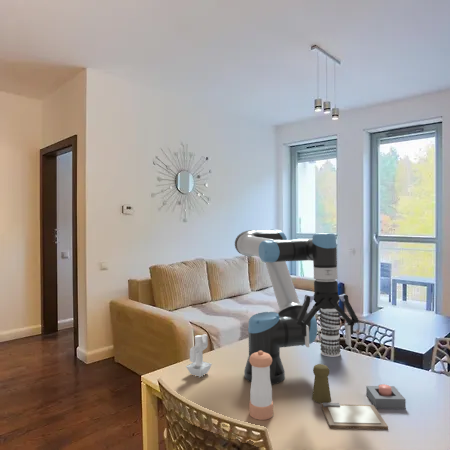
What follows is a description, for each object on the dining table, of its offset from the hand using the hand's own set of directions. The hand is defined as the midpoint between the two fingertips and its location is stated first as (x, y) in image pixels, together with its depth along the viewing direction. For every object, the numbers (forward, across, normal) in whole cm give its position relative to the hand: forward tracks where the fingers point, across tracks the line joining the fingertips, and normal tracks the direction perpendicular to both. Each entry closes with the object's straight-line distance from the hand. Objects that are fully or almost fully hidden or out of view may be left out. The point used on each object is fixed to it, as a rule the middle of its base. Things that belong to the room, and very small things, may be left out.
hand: (327, 345), depth 119 cm
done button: (+16, +18, -2) cm, 24 cm away
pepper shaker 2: (+18, -2, +1) cm, 18 cm away
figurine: (+17, -43, +24) cm, 52 cm away
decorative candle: (+17, +14, +42) cm, 47 cm away
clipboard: (+18, +4, -10) cm, 21 cm away
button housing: (+18, +18, -2) cm, 25 cm away
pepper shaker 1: (+18, -23, -7) cm, 30 cm away
